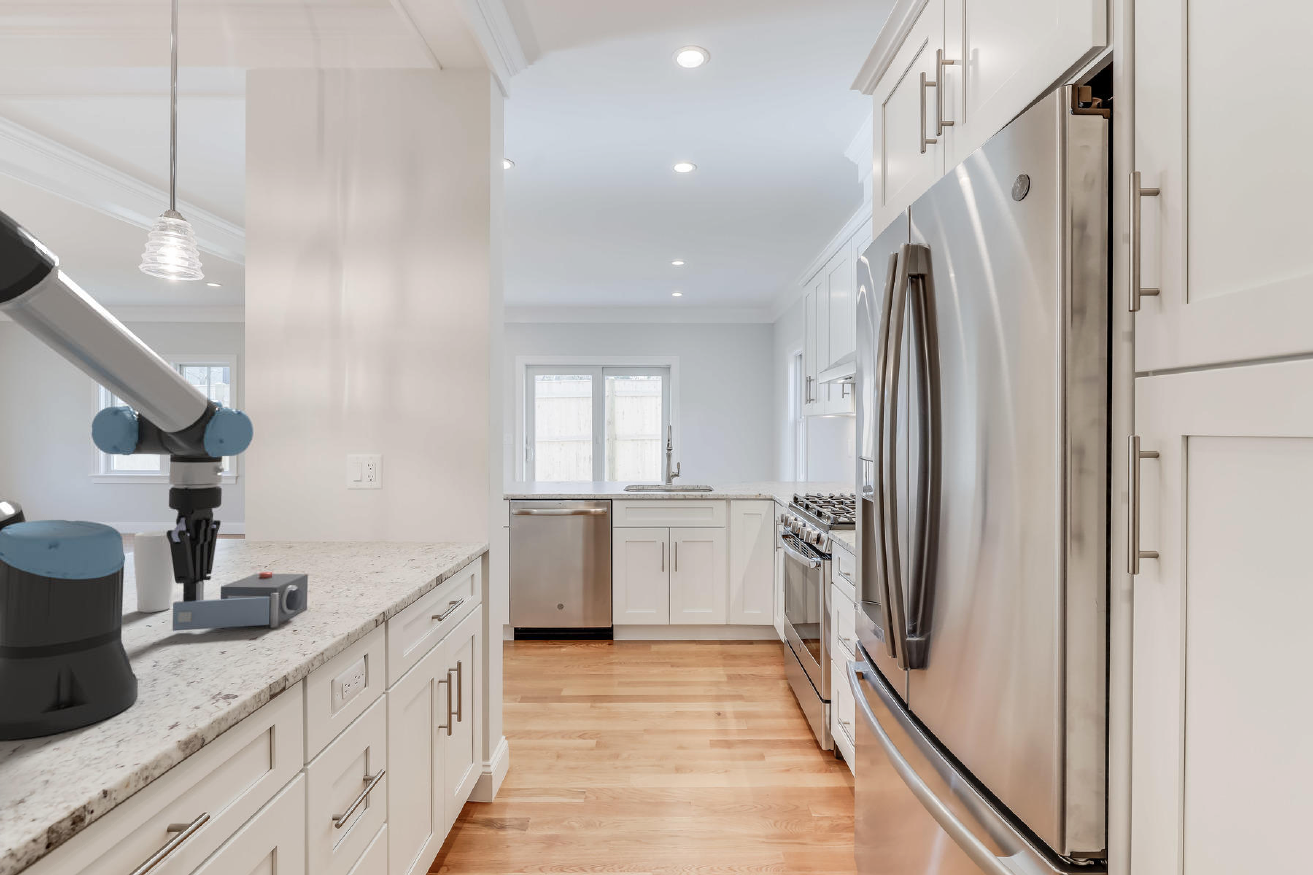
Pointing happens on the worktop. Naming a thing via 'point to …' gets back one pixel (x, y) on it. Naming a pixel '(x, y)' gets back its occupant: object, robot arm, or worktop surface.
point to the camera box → (272, 591)
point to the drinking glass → (153, 571)
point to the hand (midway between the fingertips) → (192, 618)
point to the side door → (225, 613)
